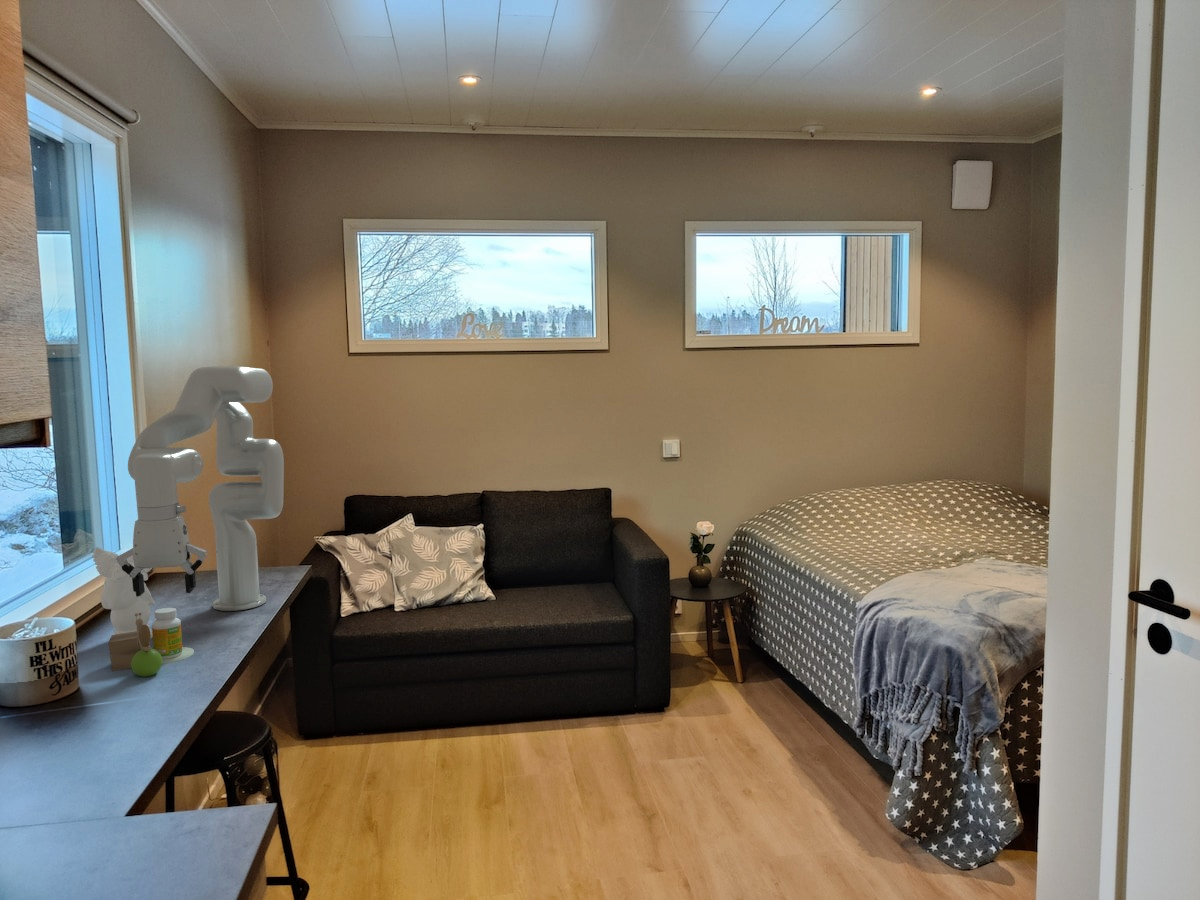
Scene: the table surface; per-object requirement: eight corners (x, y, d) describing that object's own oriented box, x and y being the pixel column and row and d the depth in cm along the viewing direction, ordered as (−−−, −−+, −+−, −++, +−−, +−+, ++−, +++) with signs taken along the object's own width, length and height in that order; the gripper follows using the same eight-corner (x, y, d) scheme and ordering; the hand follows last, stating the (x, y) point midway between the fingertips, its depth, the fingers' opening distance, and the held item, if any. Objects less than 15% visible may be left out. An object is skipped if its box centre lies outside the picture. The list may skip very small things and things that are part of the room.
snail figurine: (156, 667, 168) (152, 609, 167) (167, 675, 164) (163, 616, 163) (126, 674, 165) (122, 615, 163) (136, 683, 160) (132, 622, 159)
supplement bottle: (170, 660, 171) (167, 614, 170) (147, 658, 172) (144, 613, 171) (188, 651, 176) (185, 607, 175) (166, 650, 177) (163, 605, 177)
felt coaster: (150, 650, 179) (149, 648, 179) (199, 647, 180) (199, 645, 180) (133, 667, 169) (133, 665, 169) (186, 663, 171) (186, 661, 171)
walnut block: (115, 663, 171) (111, 635, 170) (142, 658, 173) (139, 630, 172) (112, 671, 166) (108, 642, 165) (140, 666, 168) (136, 637, 167)
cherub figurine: (157, 630, 193) (151, 536, 191) (166, 644, 183) (159, 545, 181) (96, 640, 186) (89, 544, 184) (102, 656, 176) (94, 553, 174)
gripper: (207, 507, 177) (214, 584, 179) (119, 511, 174) (126, 590, 176) (198, 514, 170) (204, 595, 172) (105, 519, 166) (113, 601, 169)
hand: (165, 592), depth 174 cm, fingers open, 9 cm apart
